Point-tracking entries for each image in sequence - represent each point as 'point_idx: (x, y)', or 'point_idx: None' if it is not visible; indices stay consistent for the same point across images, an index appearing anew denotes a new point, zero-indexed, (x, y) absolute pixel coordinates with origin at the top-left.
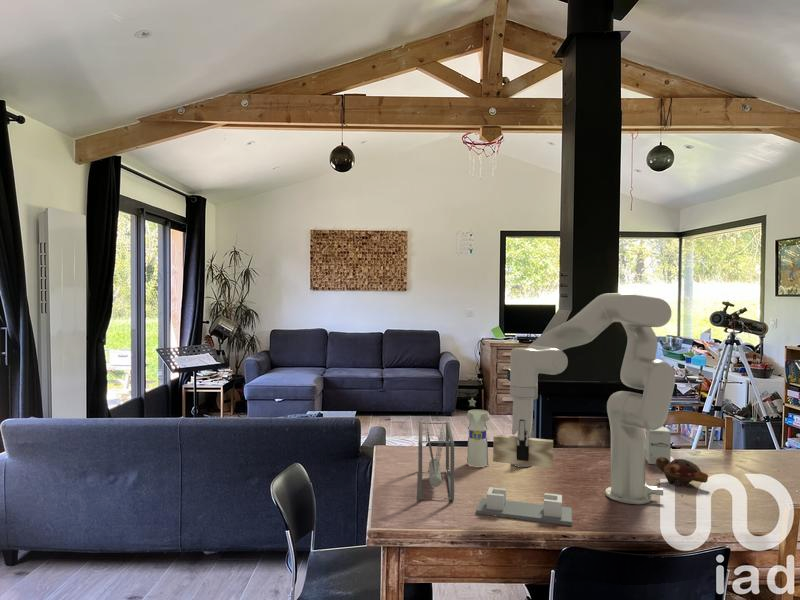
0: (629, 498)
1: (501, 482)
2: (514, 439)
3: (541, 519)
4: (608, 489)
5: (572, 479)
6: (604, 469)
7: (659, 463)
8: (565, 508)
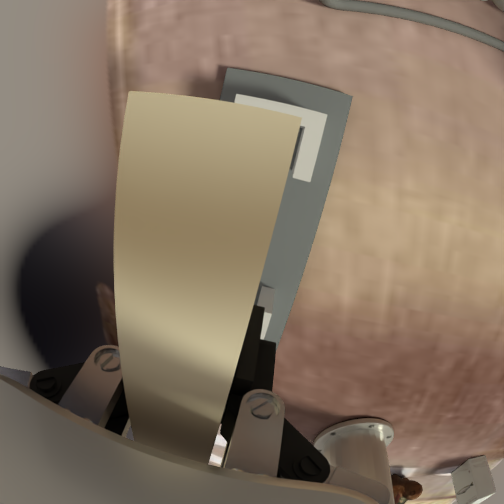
0: (326, 442)
1: (499, 205)
2: (128, 370)
3: None
4: (379, 427)
5: (468, 377)
6: (482, 420)
7: (411, 490)
8: (270, 337)
